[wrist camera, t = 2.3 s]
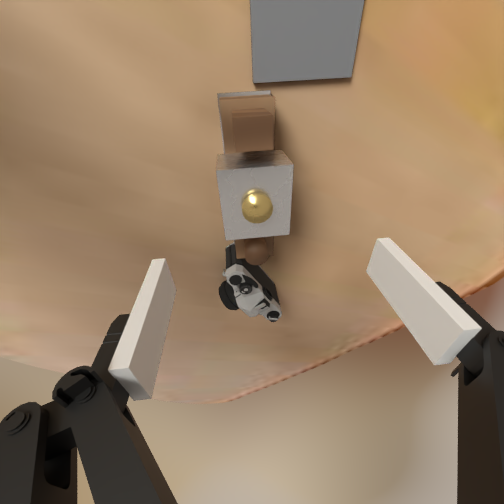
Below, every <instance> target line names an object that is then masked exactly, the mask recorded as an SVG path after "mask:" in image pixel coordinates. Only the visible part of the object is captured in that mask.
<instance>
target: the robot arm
mask: <svg viewBox="0 0 504 504" xmlns="http://www.w3.org/2000/svg"><path fill="white" fill-rule="evenodd" d="M366 272H367V273H368V275H369V276H370V277H371V279H372V280H373V282H374V283H375V284H376V286H377V287H378V288H379V290H380V291H381V293H382V294H383V295H384V297H385V298H386V299H387V301H388V302H389V304H390V305H391V306H392V308H393V309H394V310H395V312H396V313H397V315H398V316H399V317H400V319H401V320H402V321H403V323H404V324H405V326H406V327H407V328H408V330H409V331H410V332H411V334H412V335H413V336H414V338H415V339H416V341H417V342H418V343H419V345H420V346H421V347H422V349H423V350H424V352H425V353H426V354H427V356H428V357H429V359H430V360H431V361H432V363H433V364H434V365H439V364H448V363H451V362H452V360H453V359H454V358H455V357H456V356H457V357H458V358H459V360H460V361H461V363H460V364H459V365H458V366H457V367H456V368H455V370H454V371H453V372H452V374H451V376H453V377H454V376H455V375H456V374H457V373H458V372H459V376H458V382H459V383H458V386H459V387H458V486H457V487H458V488H457V504H504V332H503V331H497V330H495V329H494V328H493V327H492V326H491V325H490V324H489V323H488V322H486V321H485V320H484V319H483V318H482V317H481V316H480V315H479V314H478V313H477V312H476V311H475V310H474V309H473V308H471V307H470V306H469V305H468V304H466V302H465V301H464V300H463V299H462V298H460V297H459V295H458V294H456V293H455V292H454V291H453V290H452V289H451V288H450V287H448V286H446V285H444V284H443V283H441V282H434V281H433V280H432V279H431V278H430V277H429V276H428V275H427V274H426V273H425V272H424V271H423V270H422V269H421V268H420V267H419V266H418V265H417V264H416V263H415V262H414V261H412V260H411V259H410V258H409V257H408V256H407V255H406V254H405V253H404V252H403V251H402V250H401V249H400V248H399V247H398V246H397V245H396V244H395V243H394V242H393V241H392V240H391V239H390V238H379V239H377V240H376V243H375V246H374V249H373V252H372V255H371V258H370V261H369V264H368V267H367V270H366ZM175 295H176V287H175V284H174V281H173V279H172V276H171V273H170V270H169V267H168V264H167V261H166V259H165V258H163V259H152V262H151V264H150V267H149V269H148V272H147V274H146V277H145V279H144V282H143V284H142V287H141V289H140V292H139V294H138V296H137V299H136V301H135V304H134V306H133V309H132V311H131V314H124V315H119V316H118V317H117V318H116V319H115V320H114V321H113V323H112V324H111V326H110V328H109V330H108V332H107V336H105V338H104V341H103V344H102V345H101V347H100V349H99V351H98V353H97V356H96V358H95V360H94V362H93V364H92V366H91V367H89V366H80V367H76V368H75V369H73V370H71V371H69V372H68V373H66V374H65V375H64V376H63V377H62V378H61V379H60V380H59V381H58V383H57V384H56V385H55V388H54V390H53V395H52V399H53V400H54V401H52V402H50V403H47V404H45V405H43V406H41V405H39V404H37V403H36V402H28V403H25V404H22V405H20V406H19V407H17V408H15V409H14V410H12V411H11V412H10V413H9V414H8V415H7V416H6V417H5V418H4V419H3V420H2V421H1V423H0V504H77V448H78V451H79V454H80V457H81V461H82V464H83V467H84V470H85V473H86V477H87V480H88V483H89V487H90V490H91V493H92V496H93V499H94V502H95V504H178V503H177V502H176V500H175V498H174V496H173V494H172V492H171V490H170V488H169V486H168V484H167V482H166V480H165V478H164V476H163V474H162V472H161V470H160V468H159V467H158V464H157V463H156V461H155V459H154V457H153V455H152V453H151V451H150V449H149V447H148V445H147V443H146V441H145V439H144V437H143V435H142V433H141V431H140V429H139V427H138V425H137V424H136V422H135V420H134V418H133V416H132V414H131V412H130V410H129V408H128V406H127V405H126V404H127V401H128V398H129V396H130V397H131V398H132V399H133V400H134V401H135V400H143V399H151V398H152V393H153V389H154V385H155V381H156V376H157V372H158V368H159V363H160V359H161V355H162V351H163V346H164V342H165V338H166V333H167V329H168V325H169V320H170V316H171V312H172V308H173V303H174V299H175Z"/></svg>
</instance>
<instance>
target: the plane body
mask: <svg viewBox="0 0 504 504" xmlns="http://www.w3.org/2000/svg"><path fill="white" fill-rule="evenodd" d="M217 95H218V104H219V113H220V122H221V130H222V139H223V148H224V154H232V153H245V152H258V151H272V150H275V97H274V96H272V95H270V90H267V91H251V92H235V93H219V94H217ZM234 244H235V248H236V257H237V259H241V258H245V259H246V261H247V262H248V263H249V264H251V265H261V264H263V263H265V262H266V261H267V259H268V257H269V256H272V255H273V245H274V236H269V237H258V238H247V239H236V240H234Z"/></svg>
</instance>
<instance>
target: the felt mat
mask: <svg viewBox="0 0 504 504" xmlns="http://www.w3.org/2000/svg"><path fill="white" fill-rule="evenodd" d="M363 5H364V0H250V15H251V43H252V70H253V83H264V82H280V81H296V80H313V79H329V78H346V77H351V76H352V70H353V64H354V58H355V52H356V46H357V40H358V34H359V29H360V23H361V17H362V11H363Z"/></svg>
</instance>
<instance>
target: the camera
mask: <svg viewBox="0 0 504 504" xmlns="http://www.w3.org/2000/svg"><path fill="white" fill-rule="evenodd" d="M223 276H226V278H227V280H226V281H224V282H223V283H222V284H221V286H220V287H219V295H220V298H221V300H222V302H223V304H224V305H225V306H226V307H227V308H228V309H230V310H237V309H239V308H240V309H241V310H242V311H243V312H245V313H246V314H247V315H248V316H249V317H254V316H257V315H258V314H259V313H260V315H263V316H264V317H265V318H266V319H267V320H270V321H271V322H275V321H277V320H278V319H279V318H280V317H281V314H282V312H281V308H280V304H279V300H278V296H277V292H276V288H275V284H274V282H273V281H272V280H271V278H270V277H269V276H268V275H267V274H266V273H265V272H264V270H263V269H262V268H261V267H260V266H259V265H251V264H249V263H248V262H247V261H246V259H245V258H241V259H237V257H236V248H235V244H234V242H233V243H232V244H230V245H228V246H227V247H226V272H225V271H224V272H223Z"/></svg>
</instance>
